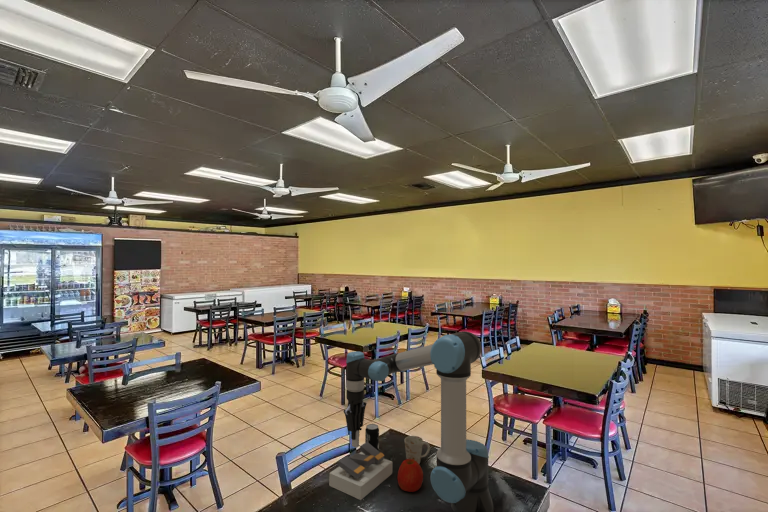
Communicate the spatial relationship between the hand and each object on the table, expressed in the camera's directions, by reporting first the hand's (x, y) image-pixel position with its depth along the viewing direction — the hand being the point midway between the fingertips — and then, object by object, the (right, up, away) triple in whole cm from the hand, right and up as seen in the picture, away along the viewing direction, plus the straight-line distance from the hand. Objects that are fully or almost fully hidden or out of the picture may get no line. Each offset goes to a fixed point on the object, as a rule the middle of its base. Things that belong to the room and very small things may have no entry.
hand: (355, 446), depth 152 cm
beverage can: (+6, -14, +21) cm, 25 cm away
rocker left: (-1, -4, -8) cm, 9 cm away
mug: (+27, -14, +12) cm, 33 cm away
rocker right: (+7, -5, +4) cm, 9 cm away
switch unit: (+3, -12, -2) cm, 13 cm away
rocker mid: (+3, -4, -2) cm, 6 cm away
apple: (+22, -13, -7) cm, 27 cm away
